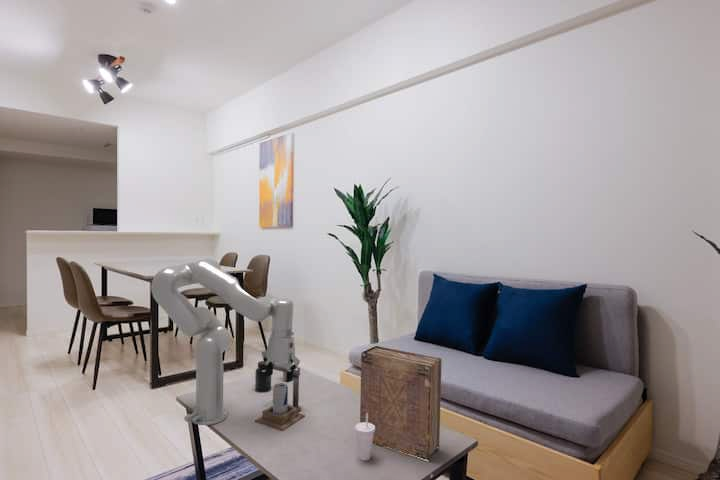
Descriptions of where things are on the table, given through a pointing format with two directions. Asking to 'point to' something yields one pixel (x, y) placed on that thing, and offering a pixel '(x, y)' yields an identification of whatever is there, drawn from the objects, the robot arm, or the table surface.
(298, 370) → the lever
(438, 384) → the book
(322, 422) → the table surface
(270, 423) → the collar base
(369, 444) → the smoothie
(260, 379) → the supplement bottle
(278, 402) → the energy drink
